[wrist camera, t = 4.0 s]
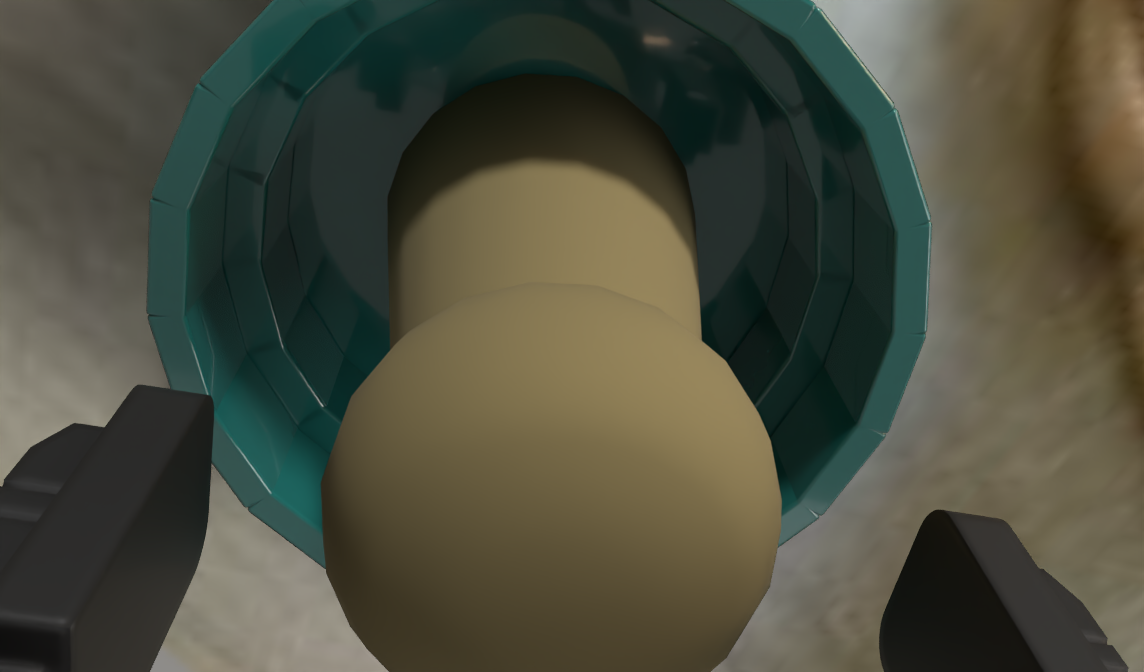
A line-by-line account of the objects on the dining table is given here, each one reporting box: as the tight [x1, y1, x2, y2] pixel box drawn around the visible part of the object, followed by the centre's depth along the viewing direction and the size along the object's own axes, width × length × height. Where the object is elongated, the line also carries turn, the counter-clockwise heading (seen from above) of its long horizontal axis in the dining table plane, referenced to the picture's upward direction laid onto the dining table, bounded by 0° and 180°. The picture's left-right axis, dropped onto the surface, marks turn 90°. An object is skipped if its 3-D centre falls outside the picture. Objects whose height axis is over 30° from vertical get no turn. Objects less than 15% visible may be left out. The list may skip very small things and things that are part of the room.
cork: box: [321, 74, 782, 672], centre depth 15 cm, size 6×6×11 cm
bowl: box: [146, 0, 932, 569], centre depth 18 cm, size 12×12×5 cm
